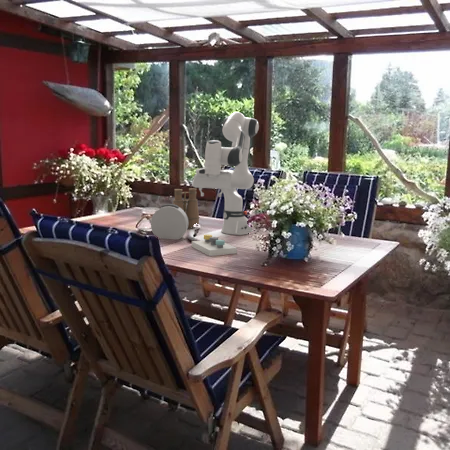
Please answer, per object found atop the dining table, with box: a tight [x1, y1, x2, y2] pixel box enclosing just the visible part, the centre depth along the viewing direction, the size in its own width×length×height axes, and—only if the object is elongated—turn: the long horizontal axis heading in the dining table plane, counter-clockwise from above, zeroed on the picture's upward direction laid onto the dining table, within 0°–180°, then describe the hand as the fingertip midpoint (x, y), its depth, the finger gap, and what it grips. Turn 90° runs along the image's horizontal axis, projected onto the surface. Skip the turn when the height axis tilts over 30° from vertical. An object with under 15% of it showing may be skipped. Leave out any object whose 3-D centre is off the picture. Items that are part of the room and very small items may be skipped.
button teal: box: [216, 239, 226, 248], centre depth 279 cm, size 5×5×5 cm
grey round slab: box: [150, 203, 189, 240], centre depth 310 cm, size 21×8×20 cm, turn 84°
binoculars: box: [172, 187, 201, 229], centre depth 341 cm, size 21×10×25 cm, turn 125°
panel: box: [191, 239, 238, 257], centre depth 285 cm, size 16×22×3 cm
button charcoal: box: [209, 236, 219, 245], centre depth 285 cm, size 5×5×5 cm
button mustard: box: [203, 233, 213, 242], centre depth 291 cm, size 5×5×5 cm
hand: (211, 196), depth 284 cm, fingers open, 8 cm apart
